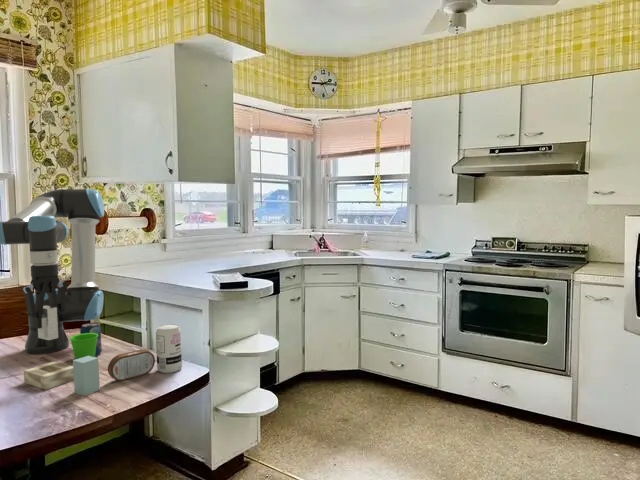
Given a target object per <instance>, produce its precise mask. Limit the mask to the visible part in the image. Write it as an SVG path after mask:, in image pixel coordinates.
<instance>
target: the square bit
mask: <svg viewBox="0 0 640 480" xmlns="http://www.w3.org/2000/svg"><path fill="white" fill-rule="evenodd" d="M72 366H73V372H74V380H73V386H74V388H73V389H74V391H73V392H74V393H75V394H78V395H82V396H88V395H91V394H93V393H95V391H96V392H98V391H100V390H101V388H100V387H101V386H100V384H101V383H100V368H99V366H100V365H99V357H91V356H86V357H82V358H79V359H76V360H75V359H72ZM90 393H91V394H90Z"/></svg>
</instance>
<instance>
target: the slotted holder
mask: <svg viewBox="0 0 640 480" xmlns="http://www.w3.org/2000/svg"><path fill="white" fill-rule="evenodd" d="M23 378H24V381H23V382H24V383H25V384H28V385H31V386H33V387H37V388H39V389H43V390H49V389H51V388H54V387H57V386H60V385H63V384H66V383H69V382H72V381H74V372H73V365H70V364H66V363H62V362H59V361H56V360H55V361H51V362H47V363H44V364H41V365H38V366H35V367H32V368H27V369H24V370H23Z"/></svg>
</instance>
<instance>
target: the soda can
mask: <svg viewBox="0 0 640 480" xmlns="http://www.w3.org/2000/svg"><path fill="white" fill-rule="evenodd" d="M79 332H80V333H79V334H84V333H96V334H98V335H99V336H98V337H97V344H96V352H95V357H96V358H98V357H100V355H101V353H102V331H101V326H100V324H99V322H87V323H84V324H82V325H81V327H80V331H79Z"/></svg>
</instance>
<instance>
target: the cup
mask: <svg viewBox="0 0 640 480" xmlns="http://www.w3.org/2000/svg"><path fill="white" fill-rule="evenodd" d="M98 336H99V335H98V334H96V333H84V334H80V333H79V334H74V335H72V336H70V337H69V340H70V342H71V345H72V346H71V347H72V350H73V354H74V358H75V359H74V360H76V359H79V358H82V357H86V356H91V357H95V352H96V344H97V337H98Z"/></svg>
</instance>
